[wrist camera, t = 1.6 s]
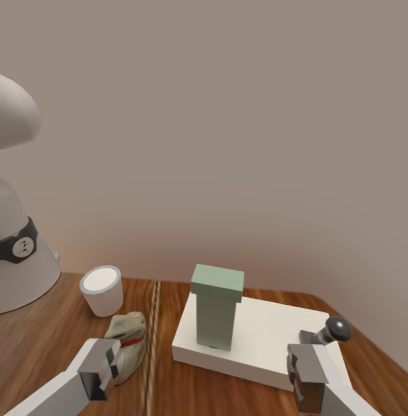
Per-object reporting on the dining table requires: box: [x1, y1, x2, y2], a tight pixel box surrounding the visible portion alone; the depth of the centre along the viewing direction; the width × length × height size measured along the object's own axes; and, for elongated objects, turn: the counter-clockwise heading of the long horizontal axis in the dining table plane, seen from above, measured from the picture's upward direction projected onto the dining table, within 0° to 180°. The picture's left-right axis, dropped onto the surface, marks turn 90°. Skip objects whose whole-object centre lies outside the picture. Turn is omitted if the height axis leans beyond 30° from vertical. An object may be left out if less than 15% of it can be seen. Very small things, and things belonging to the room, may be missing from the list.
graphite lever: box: [311, 316, 352, 346], centre depth 26 cm, size 3×3×9 cm
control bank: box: [172, 292, 352, 392], centre depth 34 cm, size 24×11×5 cm, turn 77°
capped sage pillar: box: [191, 264, 244, 351], centre depth 28 cm, size 6×3×13 cm, turn 77°
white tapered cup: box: [79, 265, 123, 317], centre depth 40 cm, size 7×7×7 cm
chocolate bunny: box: [104, 312, 148, 385], centre depth 31 cm, size 6×8×10 cm
